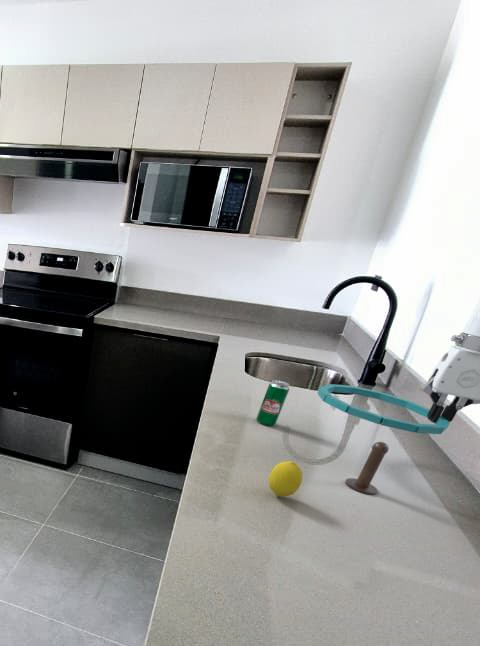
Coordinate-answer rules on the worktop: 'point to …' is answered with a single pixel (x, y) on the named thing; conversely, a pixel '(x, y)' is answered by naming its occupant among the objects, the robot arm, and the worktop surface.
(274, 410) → the soda can
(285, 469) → the lemon
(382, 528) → the worktop surface
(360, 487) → the ring toss
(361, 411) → the ring
